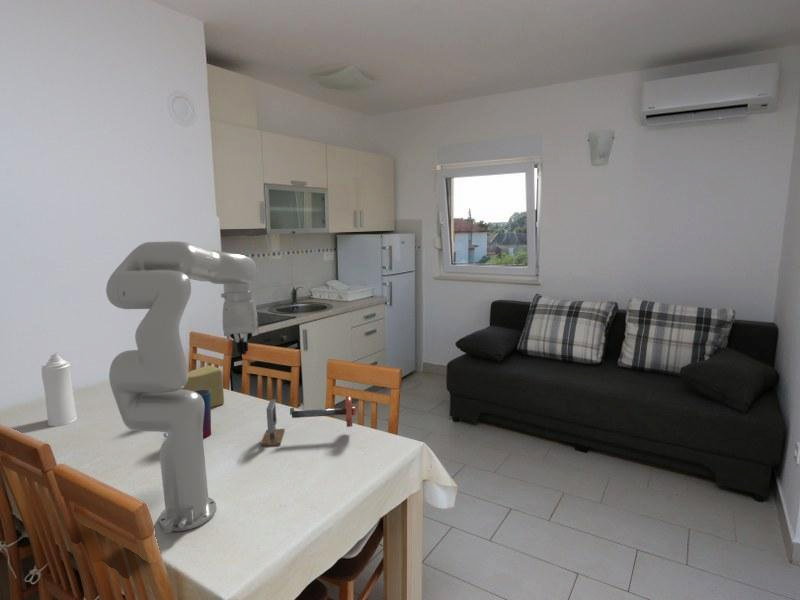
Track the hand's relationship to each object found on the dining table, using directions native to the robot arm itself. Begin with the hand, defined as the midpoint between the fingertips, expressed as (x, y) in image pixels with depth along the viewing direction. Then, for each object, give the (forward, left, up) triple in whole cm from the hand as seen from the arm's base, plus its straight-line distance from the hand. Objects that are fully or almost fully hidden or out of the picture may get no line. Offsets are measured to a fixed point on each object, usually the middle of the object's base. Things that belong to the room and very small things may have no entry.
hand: (243, 353), depth 148 cm
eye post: (-1, -8, -29) cm, 30 cm away
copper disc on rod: (-1, -24, -26) cm, 36 cm away
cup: (+5, +16, -29) cm, 34 cm away
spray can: (+26, +72, -29) cm, 82 cm away
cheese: (+27, +27, -29) cm, 48 cm away
